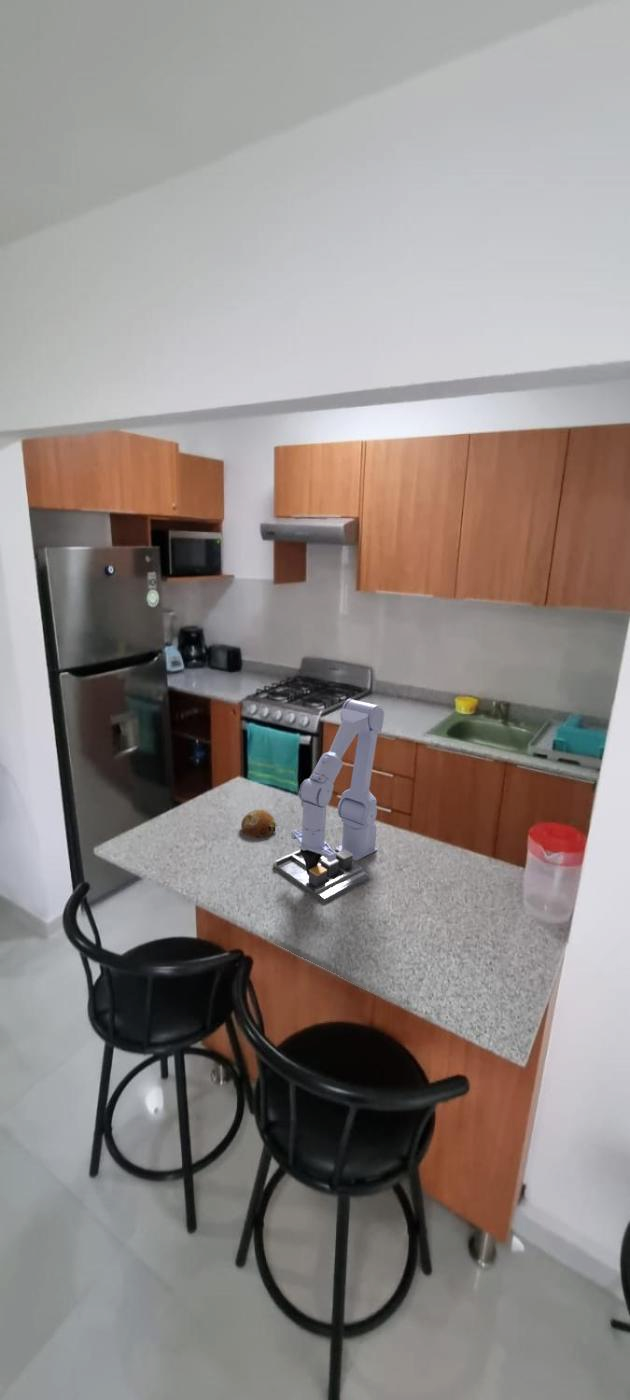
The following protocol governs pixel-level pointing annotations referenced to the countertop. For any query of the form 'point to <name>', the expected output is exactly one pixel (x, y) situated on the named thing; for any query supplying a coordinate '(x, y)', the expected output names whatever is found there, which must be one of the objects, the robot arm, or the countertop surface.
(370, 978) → the countertop surface
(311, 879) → the block
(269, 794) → the countertop surface
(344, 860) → the block
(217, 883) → the countertop surface
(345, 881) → the panel
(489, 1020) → the countertop surface
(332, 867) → the block
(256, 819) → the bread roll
